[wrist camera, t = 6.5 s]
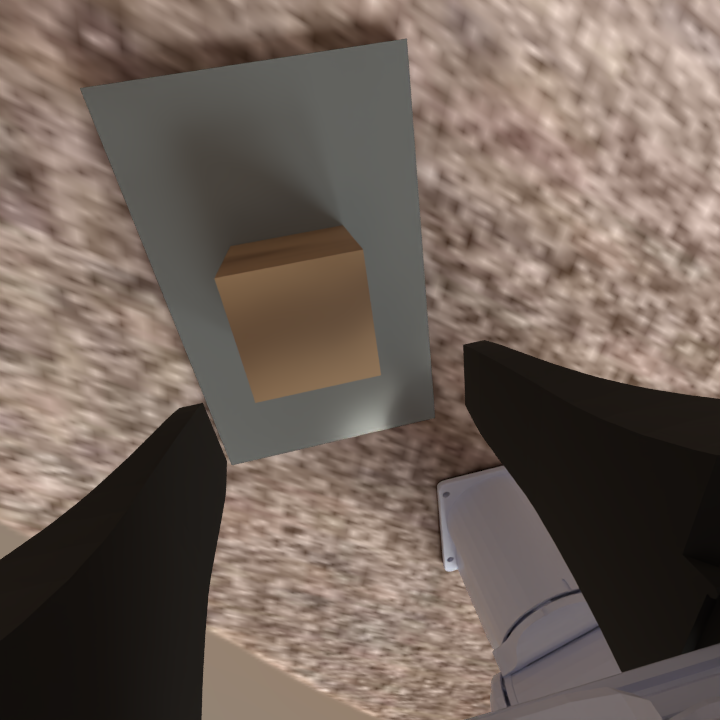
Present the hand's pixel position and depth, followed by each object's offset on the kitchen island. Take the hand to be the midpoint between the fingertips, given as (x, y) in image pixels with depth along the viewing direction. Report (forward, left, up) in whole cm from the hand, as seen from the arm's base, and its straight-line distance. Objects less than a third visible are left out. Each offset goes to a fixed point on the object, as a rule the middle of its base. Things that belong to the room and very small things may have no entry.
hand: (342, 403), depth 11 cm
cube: (+1, +1, -9) cm, 9 cm away
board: (0, +1, -10) cm, 10 cm away
